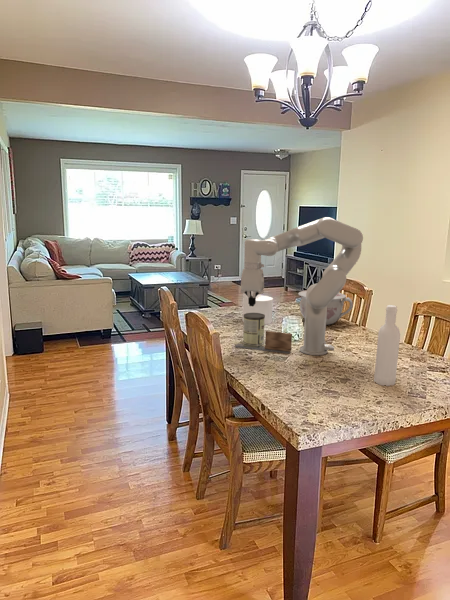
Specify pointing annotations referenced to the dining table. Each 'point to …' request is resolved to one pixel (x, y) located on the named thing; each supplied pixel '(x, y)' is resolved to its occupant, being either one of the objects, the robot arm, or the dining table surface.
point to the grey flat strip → (259, 348)
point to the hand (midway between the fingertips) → (251, 305)
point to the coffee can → (253, 329)
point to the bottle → (387, 349)
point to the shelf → (278, 341)
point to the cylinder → (259, 307)
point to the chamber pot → (329, 307)
